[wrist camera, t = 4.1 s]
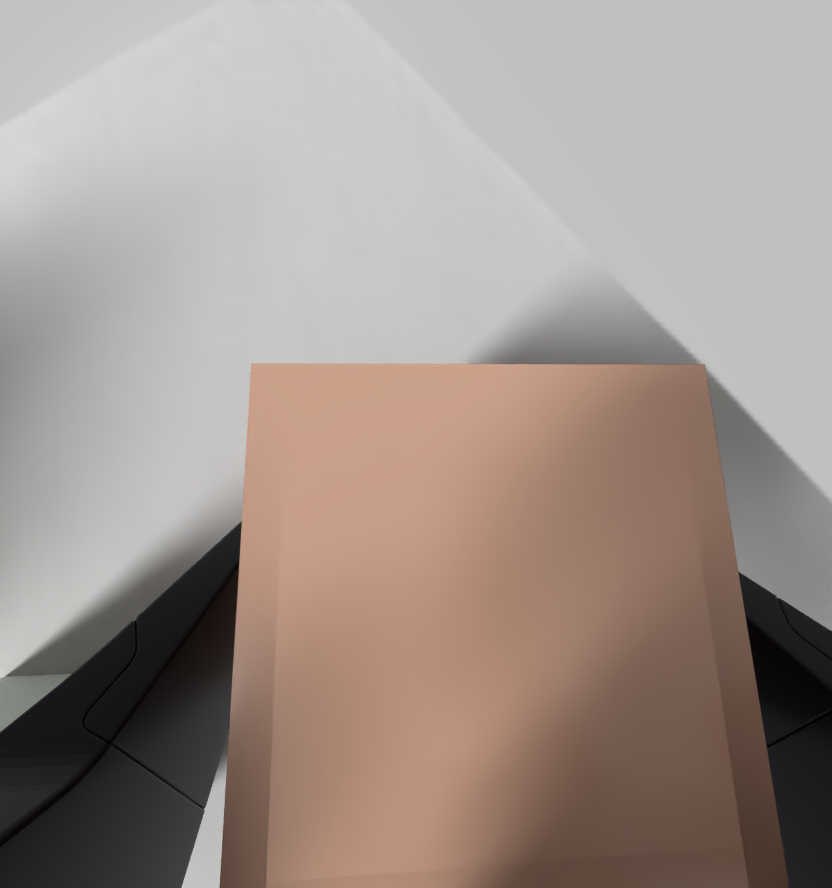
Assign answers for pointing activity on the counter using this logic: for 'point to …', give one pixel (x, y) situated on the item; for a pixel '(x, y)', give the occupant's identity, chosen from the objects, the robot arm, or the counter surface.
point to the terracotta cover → (491, 635)
